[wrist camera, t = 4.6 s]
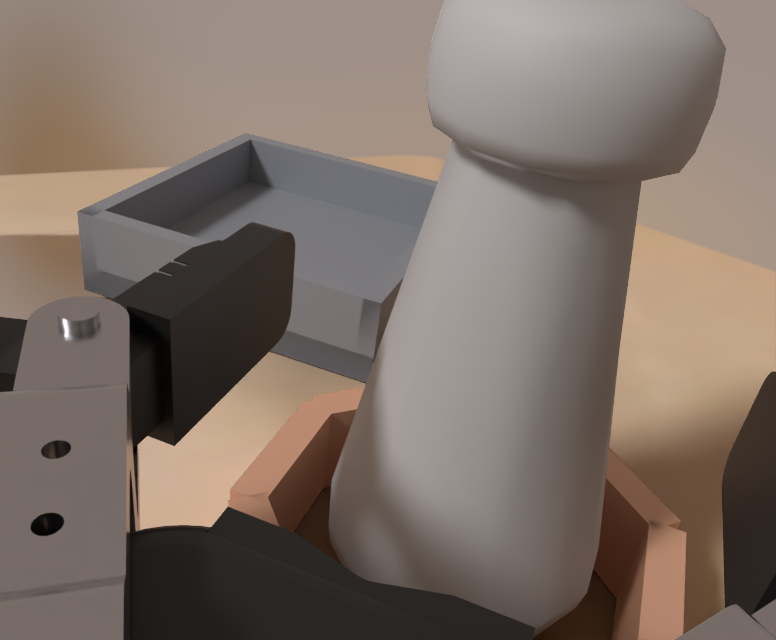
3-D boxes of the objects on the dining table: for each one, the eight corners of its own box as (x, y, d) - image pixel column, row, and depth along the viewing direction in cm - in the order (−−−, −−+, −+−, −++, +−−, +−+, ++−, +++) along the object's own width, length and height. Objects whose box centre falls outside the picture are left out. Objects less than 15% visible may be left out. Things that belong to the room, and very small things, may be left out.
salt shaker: (621, 654, 16) (908, 38, 10) (389, 755, 14) (560, 17, 7) (480, 476, 21) (611, -35, 14) (284, 529, 18) (329, -63, 11)
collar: (657, 524, 20) (689, 453, 19) (627, 902, 12) (676, 826, 11) (342, 414, 22) (350, 345, 21) (150, 676, 15) (144, 592, 13)
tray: (463, 255, 33) (475, 191, 31) (369, 384, 24) (381, 303, 22) (243, 194, 35) (245, 133, 34) (84, 289, 26) (77, 211, 25)
